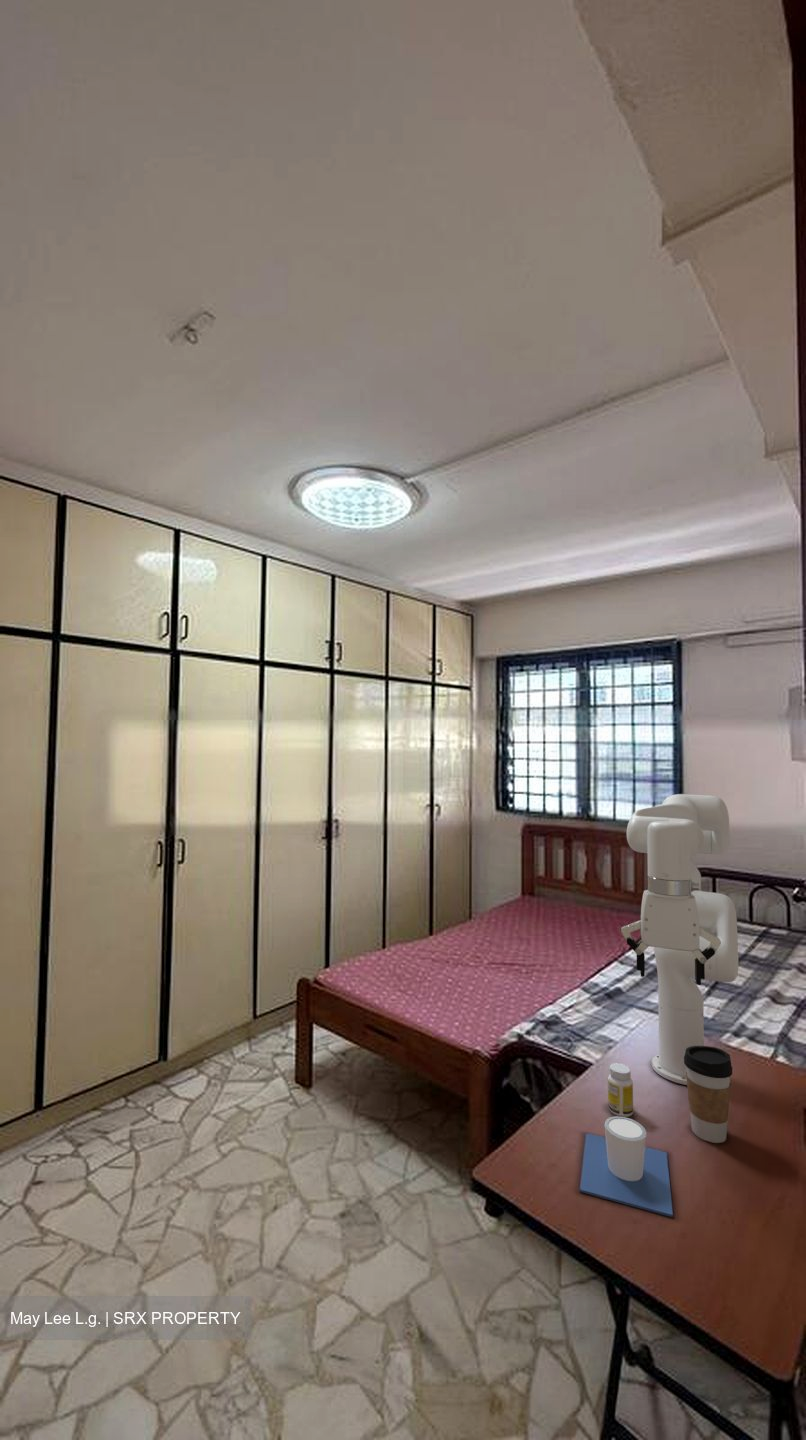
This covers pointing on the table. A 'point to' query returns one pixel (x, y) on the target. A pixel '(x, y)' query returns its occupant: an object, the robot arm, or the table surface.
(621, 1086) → the supplement bottle
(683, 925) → the robot arm
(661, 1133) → the table surface
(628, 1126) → the white cup
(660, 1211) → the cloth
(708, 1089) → the coffee cup
